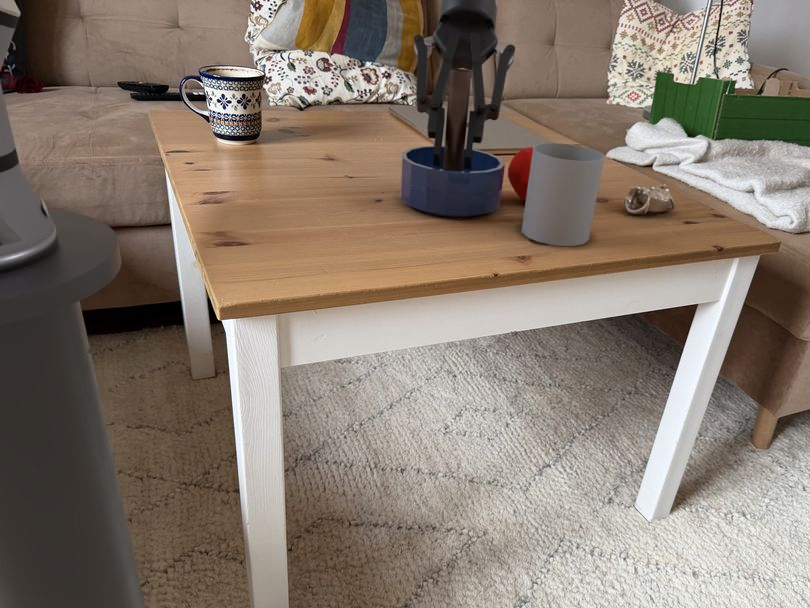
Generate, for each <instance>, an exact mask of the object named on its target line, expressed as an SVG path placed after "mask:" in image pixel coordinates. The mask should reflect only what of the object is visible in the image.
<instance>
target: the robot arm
mask: <svg viewBox="0 0 810 608" xmlns="http://www.w3.org/2000/svg"><path fill="white" fill-rule="evenodd" d="M498 2H499V0H441V1H440V7H439V14H438V23H437V27H436V29H435V30H434V31H433V33H432V35H430V36H428V37H423V35H421V34H416V35H414V36H413V49H414V55H415V58H416V60H417V63H416V65H417V67H416V70H417V71H416V90H415V91H416V93H415V95H416V96H415V100H416V101H415V102H416V110H417V112H418V113H420V114H422V113H423V114H424V113H425V114H427V115H428V118H427V131H426V132H427V133H426V134H427V138H428V139H434V145H433V146H434V152H433V163H434V165H435V166H440V157H441V148H442V146H443V140H444V139H443V138H444V129H445V123H446V122H445V121H446V119H445V118H446V116H445V115H446V108H445V107H443V106H444V103H445V101H446V100H445V99H446V96H447V93H448V91H449V78H450V69H465V70H469V71H471V87H472V88H471V89H472V97H473V98H472V101H473V110H469V115H468V124H467V133H466V143H465V148H466V154H465V167H464V168H465V169H470V168H471V158H472V149H474V148H473V145H474V144H481V143H482V142H483V139H484V128H485V122H486V121H488V120H491V121H497V120H499V116H500V112H501V108H502V107H501V106H502V102H503V101H502V100H503V95H504V89H505V83H506V79H507V73H508V71H509V70H510V68H511V66H512V65H513V64H514V60H515V54H516V46H515V45H514V44H512V43H511V44H507V45H506V46H505V45H503V44H501V43H499V40H498V37H497V35H496V25H497V14H498ZM20 16H21V11H20V9H19V7H18V5H17V4H16V1H15V0H0V71H1V70H2V68H3V64H4V61H5V59H6V57H7V53H8V51H9V48H10V45H11V42H12V39H13V35H14V33H15V31H16V28H17V25H18V22H19V20H20ZM433 49H435V50H436V52H437V53H438V54H439V56H440V57H441V59H442V62H441V67H440V69H439V73H438V76H437V78H436V82H435V85H434V88H433V91H432V95H431V98H429V97H428V72H429V71H428V70H429V69H428V68H429V66H428V64H429V63H428V58H430V56H431V55H432V53H433V52H432V50H433ZM493 55H495V62H496V63H497V68H496V72H495V73H496V74H495V80H494V84H493V90H492V93H491V94H492V95H491V100H490V103H488V104H487V103H486V96H485V86H484V76H483V75H484V74H483V65H484V64H485V63H486V62H487V61H488V60H489V59H490V58H491V57H492V56H493ZM19 159H20V158H19V155H18V152H17V147H16V143H15V139H14V135H13V130H12V126H11V122H10V118H9V114H8V110H7V105H6V101H5V96H4V92H3V87H2V83H1V81H0V274H3V273H7V272H11V271H14V270H18V269H21V268H24V267H27V266H29V265H32V264H34V263H37V262H39V261H41V260H43V259H44V258H46V257H48V256H49V255H51V254H52V253H53V252H54V251H55V250H56V249H57V247H58V244H59V240H58V236H57V231H56V227H55V224H54V222H53V220H52V218H51V217H50V215H49V214H48V211H47V209H48V207H47V204H46V203H45V202H44V200H43V197H40V198H39V196H38V194H37V193H36V191H35V190H34V188H33V186H32V185H31V184H30V182H29V180H28V179H27V177H26V175H25V174H24V172H23V170H22V167H21V164H20V160H19Z"/></svg>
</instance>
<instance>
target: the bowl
mask: <svg viewBox="0 0 810 608" xmlns="http://www.w3.org/2000/svg"><path fill="white" fill-rule="evenodd" d="M444 146H445V145H442V148H441V157H440V166H435V165H434V163H433V152H434V145H420V146H414V147H411V148H407V149H406V150H404V151H402V152H401V157H400V177H399V178H400V180H399V196H400V201H402V202H403V203H405V204H406V205H407V206H409V207H412V208H415V209H416V210H419V211H421V212H424V213H428V214H431V215H434V216H441V217H450V218H469V217H475V216H481V215H486V214H489V213H491V212H494V211H496V210H497V209H498V208H499V207H500V205H501V201H502V192H503V184H504V177H505V176H504V175H505V169H506V168H505V167H506V164H505V162H504V160H503V159H502V158H501V157H498V156H497V155H494V154H492V153H490V152H487V151H483V150H479V149H476V148H475V149H474V148H472V158H471V168H470V169H465V168H464V167H465V154H466V147H465V150H464V162H463V171H448V170H443V159H444Z"/></svg>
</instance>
